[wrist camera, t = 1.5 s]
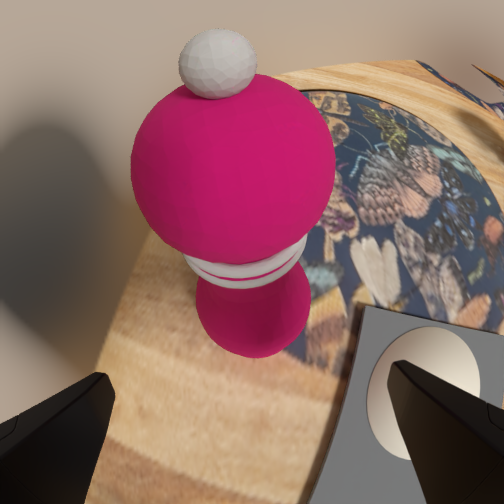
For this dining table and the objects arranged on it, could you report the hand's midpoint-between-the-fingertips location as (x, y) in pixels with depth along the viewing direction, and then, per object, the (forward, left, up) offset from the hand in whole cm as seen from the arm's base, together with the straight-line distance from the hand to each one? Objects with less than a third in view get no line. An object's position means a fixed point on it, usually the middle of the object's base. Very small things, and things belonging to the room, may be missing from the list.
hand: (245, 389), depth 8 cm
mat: (0, -14, -13) cm, 19 cm away
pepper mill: (+6, +2, -13) cm, 15 cm away
